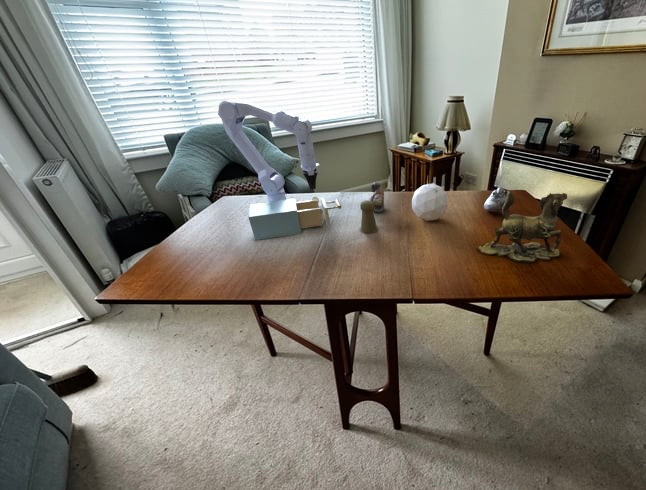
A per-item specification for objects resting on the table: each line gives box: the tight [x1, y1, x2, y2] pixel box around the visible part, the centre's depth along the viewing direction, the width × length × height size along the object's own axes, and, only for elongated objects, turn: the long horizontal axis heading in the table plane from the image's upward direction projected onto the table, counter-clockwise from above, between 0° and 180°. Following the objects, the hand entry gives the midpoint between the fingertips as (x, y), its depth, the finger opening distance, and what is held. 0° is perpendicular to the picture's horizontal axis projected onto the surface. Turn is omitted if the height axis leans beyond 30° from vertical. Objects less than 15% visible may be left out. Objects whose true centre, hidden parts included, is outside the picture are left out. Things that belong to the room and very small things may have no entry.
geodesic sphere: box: [411, 183, 449, 222], centre depth 117 cm, size 15×14×14 cm
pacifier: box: [311, 196, 323, 214], centre depth 129 cm, size 7×6×6 cm
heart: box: [483, 186, 510, 213], centre depth 120 cm, size 10×10×12 cm
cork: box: [359, 199, 378, 234], centre depth 112 cm, size 6×6×11 cm
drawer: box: [296, 197, 342, 229], centre depth 118 cm, size 21×11×7 cm, turn 107°
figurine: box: [477, 190, 568, 264], centre depth 92 cm, size 13×25×20 cm, turn 79°
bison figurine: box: [369, 181, 385, 213], centre depth 128 cm, size 12×7×10 cm, turn 0°
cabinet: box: [247, 198, 302, 241], centre depth 115 cm, size 17×13×9 cm
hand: (312, 188), depth 125 cm, fingers closed
